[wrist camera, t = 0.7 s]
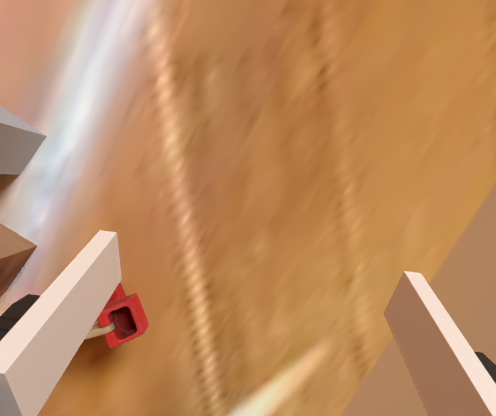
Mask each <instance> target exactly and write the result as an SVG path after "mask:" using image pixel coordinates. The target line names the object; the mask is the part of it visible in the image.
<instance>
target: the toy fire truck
mask: <svg viewBox="0 0 496 416" xmlns="http://www.w3.org/2000/svg"><path fill="white" fill-rule="evenodd" d="M148 326H149V323H148V320H147V318H146V316H145V313H144V310H143V308H142V305H141V303H140V300H139V297H138V295H137V294H136V293H135V294H133V295H130V296H127V297H126V295H125V293H124V290H123V288H122V286H121V284H120V283H119V284H118V286H117V287H116V289H115V290H114V292H113V294H112V295H111V297H110V298H109V300H108V302H107V303H106V305H105V307H104V308H103V310H102V311H101V313H100V315H99V316H98V318H97V319H96V321H95V323H94V324H93V326H92V328H91V329H90V331H89V332H88V334H87V336H86V337H85V339H84V340H86V339H89V338H93V337H96V336H100V335H104V338H105V340H106V343H107V345H108V348H109V349H112V348H114V347H116V346H119V345H121V344H123V343H125V342H128V341H129V340H132V339H134V338H136V337H139V336H141V335H142V334H144V332H145V331H146V329H147V328H148Z"/></svg>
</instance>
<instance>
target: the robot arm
mask: <svg viewBox="0 0 496 416" xmlns="http://www.w3.org/2000/svg"><path fill="white" fill-rule="evenodd" d="M120 281H121V269H120V259H119V249H118V239H117V233H116V232H109V231H101V230H100V231H99V232H98V233H97V234H96V235H95V236H94V237H93V239H92V240H91V241H90V242H89V243H88V244H87V245H86V246H85V247H84V249H83V250H82V251H81V252H80V253H79V254H78V255H77V256H76V258H75V259H74V260H73V261H72V262H71V263H70V264H69V265H68V266H67V268H66V269H65V270H64V271H63V272H62V273H61V274H60V275H59V276H58V278H57V279H56V280H55V281H54V282H53V283H52V284H51V285H50V286H49V288H48V289H47V290H46V291H45V292H44V293H43V294H42V295H41V296H38V295H31V294H28V295H26V296H25V297H23V298H22V299H20V300H18V301H17V302H15V303H13V304H12V305H11V306H10V307H9V308H8V309H7V310H6V311H5V312H4V313H3V314H2V315H1V316H0V416H37V415H38V413H39V412H40V410H41V408H42V407H43V405H44V404H45V402H46V400H47V399H48V397H49V395H50V394H51V392H52V391H53V389H54V387H55V386H56V384H57V383H58V381H59V379H60V378H61V376H62V374H63V373H64V371H65V370H66V368H67V366H68V365H69V363H70V362H71V360H72V358H73V357H74V355H75V353H76V352H77V350H78V349H79V347H80V345H81V344H82V342H83V341H84V339H85V337H86V336H87V334H88V332H89V331H90V329H91V328H92V326H93V324H94V323H95V321H96V319H97V318H98V316H99V315H100V313H101V311H102V310H103V308H104V307H105V305H106V303H107V302H108V300H109V298H110V297H111V295H112V294H113V292H114V290H115V289H116V287H117V286H118V284H119V282H120ZM384 316H385V318H386V320H387V322H388V325H389V327H390V329H391V332H392V334H393V336H394V338H395V341H396V343H397V345H398V348H399V350H400V352H401V354H402V357H403V359H404V361H405V364H406V366H407V368H408V370H409V373H410V375H411V377H412V379H413V382H414V384H415V386H416V389H417V391H418V393H419V396H420V398H421V400H422V402H423V405H424V407H425V409H426V412H427V414H428V416H496V365H495V364H494V363H493V362H492V361H491V360H489V359H488V358H487V357H486V356H485V355H484V354H483V353H480V352H474V351H473V350H472V348H471V347H470V345H469V344H468V342H467V341H466V339H465V338H464V337H463V335H462V334H461V332H460V331H459V329H458V328H457V326H456V325H455V323H454V322H453V320H452V319H451V317H450V316H449V314H448V313H447V312H446V310H445V308H444V307H443V305H442V304H441V303H440V301H439V300H438V298H437V297H436V295H435V294H434V292H433V291H432V289H431V288H430V286H429V285H428V283H427V282H426V280H425V279H424V277H423V276H422V274H421V273H415V272H407V271H404V272H403V274H402V277H401V279H400V281H399V283H398V285H397V287H396V289H395V291H394V293H393V295H392V297H391V299H390V302H389V304H388V306H387V308H386V310H385V312H384Z"/></svg>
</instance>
